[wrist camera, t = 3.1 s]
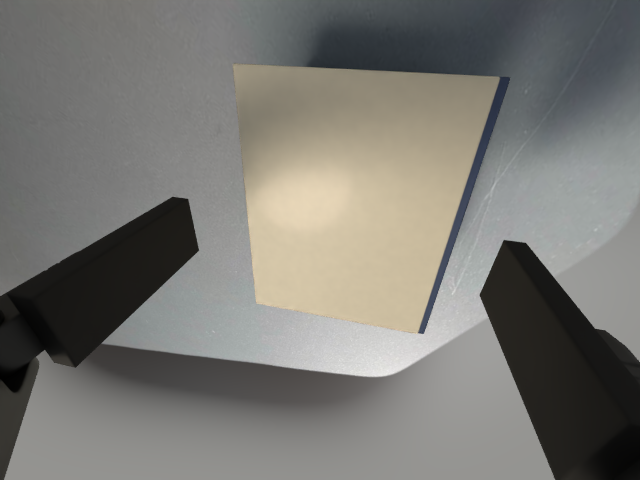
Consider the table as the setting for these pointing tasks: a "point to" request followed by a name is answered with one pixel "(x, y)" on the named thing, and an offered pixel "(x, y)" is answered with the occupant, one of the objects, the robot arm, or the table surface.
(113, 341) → the table surface
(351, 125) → the cream book
